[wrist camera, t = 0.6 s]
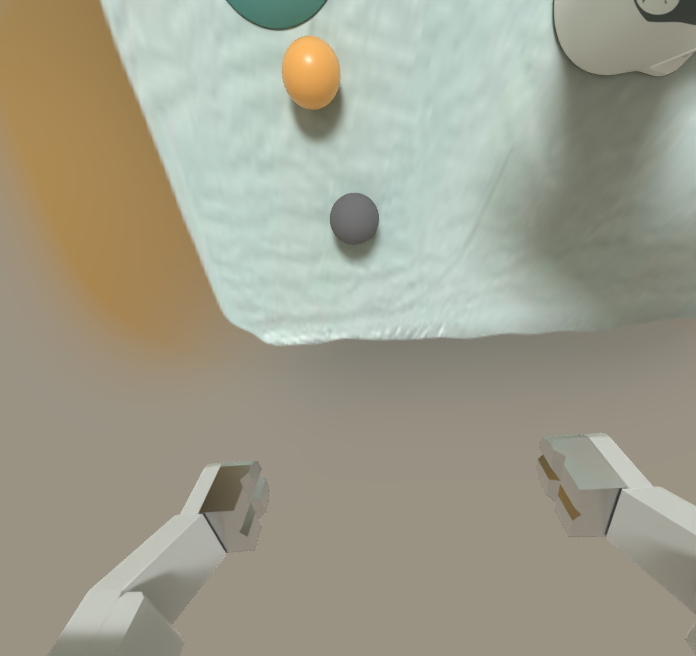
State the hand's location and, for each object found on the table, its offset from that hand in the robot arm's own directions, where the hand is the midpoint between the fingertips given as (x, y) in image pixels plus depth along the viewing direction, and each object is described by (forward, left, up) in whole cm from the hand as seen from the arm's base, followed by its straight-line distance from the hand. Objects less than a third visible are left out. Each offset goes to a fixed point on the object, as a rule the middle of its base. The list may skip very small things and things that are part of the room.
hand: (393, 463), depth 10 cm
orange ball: (-5, -16, -35) cm, 39 cm away
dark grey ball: (+1, -2, -35) cm, 35 cm away
